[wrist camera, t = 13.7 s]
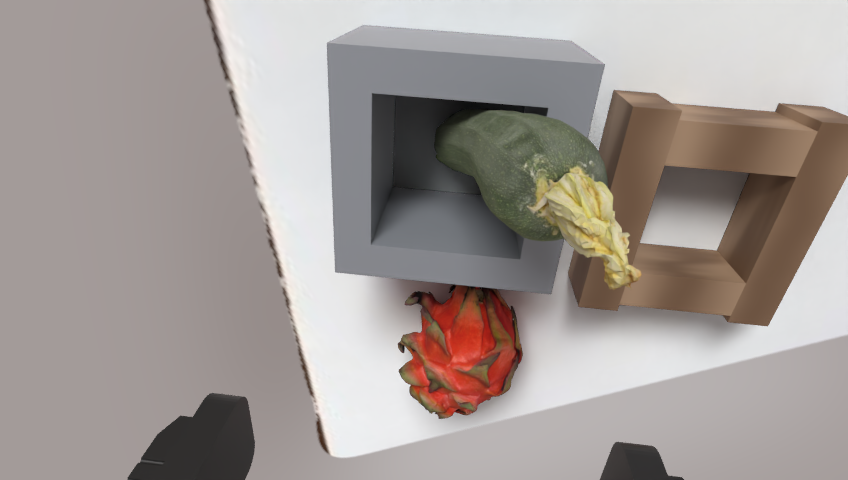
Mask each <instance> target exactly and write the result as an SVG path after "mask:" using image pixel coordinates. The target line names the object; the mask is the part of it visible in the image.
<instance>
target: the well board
mask: <svg viewBox="0 0 848 480" xmlns="http://www.w3.org/2000/svg"><path fill="white" fill-rule="evenodd" d="M598 152H599V154H600V156H601V158H602V160H603V161H604V164H605V169H606V173H607V178H608V189H609V191H610V192H611V193H612V195H613V211H615V220H616V221H617V222H618V224H619V225H620V227H621V228H622V233H629V235H630V236H629V237H627V238H628V240H629V245H628V248H627V249H629V253H628V254H627V258H628V264H629V265H632V266H633V267H635V268H636V269H638V270H640V271H641V274H642V275H641V277H640V279H639V280H638V281H636V282H634V283H631V285H630V287H631V288H632V289H629V288H628V287H626V286H625V285H624V286H621V287H619V288H617V289H614V290H613V289H610V288H609V287H608V284H607V283H606V282H605V281H604V276H605V270H604V269H605V266H604V261H603V260H602V259H601V258H600V257H588V258H587V257H585V256H584V254H580V253H578V252H577V251H576V250H575V249H574V252H573V256H572V260H571V264H570V268H569V272H568V275H569V278H570V281H571V284H572V287H573V291H574V294H575V297H576V300H577V303H578V307H585V308H595V309H605V310H615V311H618V307H619V305H628V306H638V307H648V308H657V309H667V310H677V311H687V312H697V313H706V314H716V315H723V316H724V318H725V319H726V320H727V322H731V323H741V324H751V325H761V326H768V325H769V323H770V321H771V319H772V317H773V315H774V314H775V312H776V310H777V308H778V306H779V304H780V302H781V300H782V298H783V297H784V295H785V293H786V291H787V289H788V287H789V285H790V283H791V281H792V280H793V278H794V276H795V274H796V272H797V270H798V268H799V266H800V264H801V262H802V261H803V259H804V257H805V255H806V253H807V251H808V249H809V247H810V245H811V244H812V242H813V240H814V238H815V236H816V234H817V232H818V230H819V228H820V226H821V225H822V223H823V221H824V219H825V217H826V215H827V213H828V211H829V209H830V208H831V206H832V204H833V202H834V200H835V198H836V196H837V194H838V192H839V190H840V189H841V187H842V185H843V183H844V181H845V179H846V177H847V175H848V116H846V115H843V114H840V113H838V112H835V111H833V110H830V109H827V108H825V107H818V106H805V105H793V104H780V103H779V105H778V107H777V110H776V112H770V111H757V110H745V109H733V108H720V107H708V106H696V105H683V104H672V103H670V102H669V101H667V100H666V99H664V98H663V97H661V96H660V95H658V94H656V93H643V92H631V91H619V90H614V91H613V95H612V99H611V103H610V107H609V111H608V115H607V119H606V123H605V127H604V131H603V135H602V139H601V143H600V147H599V151H598ZM664 166H677V167H688V168H700V169H711V170H723V171H734V172H745V173H750V174H749V176H748V179H747V181H746V183H745V186H744V188H743V190H742V193H741V195H740V198H739V200H738V202H737V205H736V207H735V210H734V212H733V214H732V217H731V219H730V221H729V224H728V226H727V229H726V231H725V233H724V236H723V238H722V240H721V243H720V245H719V248H718V250H717V251H715V250H705V249H694V248H684V247H673V246H663V245H652V244H642V243H640V240H641V237H642V233H643V230H644V227H645V224H646V221H647V218H648V215H649V212H650V209H651V206H652V203H653V199H654V196H655V193H656V190H657V187H658V184H659V181H660V178H661V175H662V172H663V169H664Z"/></svg>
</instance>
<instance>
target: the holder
mask: <svg viewBox="0 0 848 480" xmlns="http://www.w3.org/2000/svg"><path fill="white" fill-rule="evenodd" d="M327 61H328V88H329V116H330V143H331V170H332V198H333V225H334V252H335V272H337V273H347V274H357V275H367V276H377V277H387V278H396V279H406V280H416V281H426V282H436V283H446V284H455V285H465V286H475V287H485V288H495V289H504V290H514V291H524V292H534V293H544V294H551V292H552V288H553V284H554V280H555V275H556V271H557V267H558V262H559V258H560V254H561V250H562V245H563V241H564V239H560V240H556V241H535V240H530V239H527V238H524V237H522V236H521V235H519V234H518V233H516V232H515V231H513V230H512V229H511V228H509V227H508V226H507V225H506V224H504V223H503V222H502V221H501V220H500V219H498V218H497V217H496V216H495V215H494V214H493V213H492V212H491V211H490V209H489V208H488V206H487V205H486V203H485V201H484V199H483V197H482V195H474V194H464V193H453V192H442V191H431V190H420V189H409V188H399V187H393V160H394V127H395V95H400V96H412V97H424V98H436V99H448V100H460V101H472V102H484V103H496V104H508V105H520V106H525V110H524V113H530V114H538V115H542V116H545V117H550V118H554V119H558V120H561V121H563V122H564V123H566V124H568V125H570V126H571V127H573V128H575V129H576V130H577V131H579V132H580V133H581V134H583V135H584V136H585V137H587V138H588V134H589V130H590V126H591V121H592V117H593V113H594V109H595V104H596V100H597V96H598V91H599V87H600V83H601V79H602V74H603V70H604V66H605V64H603V63H602V62H601V61H599V60H598V59H596V58H595V57H594V56H592V55H591V54H589V53H588V52H586V51H585V50H584V49H582V48H581V47H579V46H578V45H577V44H575V43H574V42H572V41H565V40H552V39H539V38H526V37H513V36H499V35H486V34H473V33H460V32H447V31H433V30H420V29H407V28H394V27H381V26H367V25H363V26H361V27H359V28H357V29H355V30H352V31H350V32H348V33H346V34H344V35H342V36H340V37H338V38H336V39H334V40H332V41H330V42H328V43H327Z"/></svg>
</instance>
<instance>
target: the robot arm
mask: <svg viewBox="0 0 848 480" xmlns="http://www.w3.org/2000/svg"><path fill="white" fill-rule="evenodd" d="M254 448H255V441H254V435H253V429H252V423H251V417H250V411H249V405H248V401H247V399H246V398H245V397H241V396H232V395H224V394H215V393H211V394H209V395H208V396H207V397H206V398H205V399H204V400H203V402H202V403H201V405H200V407H199V408H198V410H197V411H196V413H195V415H194V416H193V417H187V416H180V417H178V418H177V419H176V420H175V421H174V422H172V423H171V424H170V425H169V426H167V427H166V428H165V429H164V430H162V431H161V432H160V433H159V434H158V435H157V436H156V438H155V439H154V440H153V442H152V443H151V445H150V446H149V448H148V449H147V450H146V452H145V453H144V455H143V456H142V458H141V462H140V463H138V464H137V465H136V467H135V468H134V469H133V471H132V472H131V474H130V475H129V477H128V480H245V478H246V476H247V474H248V472H249V469H250V466H251V463H252V459H253V455H254ZM600 480H684V479H683V478H682V477H673V476H668V475H667V473H666V470H665V467H664V464H663V462H662V459H661V457H660V454H659V452H658V451H657V449H656V448H655V447H653V446H648V445H640V444H631V443H623V442H616V443H615V444H614V445H613V447H612V450H611V452H610V455H609V457H608V460H607V462H606V465H605V468H604V470H603V473H602V476H601V478H600Z"/></svg>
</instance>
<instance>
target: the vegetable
mask: <svg viewBox="0 0 848 480" xmlns="http://www.w3.org/2000/svg"><path fill="white" fill-rule="evenodd" d="M434 146H435V150H436V153H437V155H436V158H437V159H438V160H439V161H440V162H442V163H444V164H445V165H447V166H448V167H449V168H451V169H452V170H455V171H459V172H462V173H464V174H467V175H470V176H473V177H474V178H475V180H476V182H477V184H478V186H479V188H480V191H481V194H482V197H483V199H484V201H485V203H486V205H487V206H488V208H489V209H490V211H491V212H492V213H493V214H494V215H495V216H496V217H497V218H498V219H500V220H501V221H502V222H503V223H504V224H506V225H507V226H508V227H509V228H511V229H512V230H513V231H515V232H516V233H518V234H519V235H521V236H522V237H524V238H527V239H530V240H535V241H556V240H560V239H564V238H565V240H566V241H567V242H568V243H569V245H570V246H572V247H573V248H574V249H575V250H576V251H577V252H578V253H580V254H584V256H585V257H587V258H588V257H600V258H601V259H602V260H603V261H604V266H605V269H604V270H605V276H604V281H605V282H606V283H607V284H608V287H609V288H610V289H613V290H614V289H617V288H619V287H621V286H624V285H625V286H626V287H628V288H629V289H632V288H631V287H630V285H631V283H634V282H636V281H638V280H639V279H640V277H641V275H642V274H641V271H640V270H638V269H636V268H635V267H633V266H632V265H629V264H628V258H627V254H628V253H629V249H627V248H628V245H629V240H628V238H627V237H629V236H630V235H629V233H622V228H621V227H620V225H619V224H618V222H617V221H616V220H615V211H613V195H612V193H611V192H610V191H609V189H608V178H607V173H606V169H605V164H604V161H603V160H602V158H601V156H600V154H599V152H598V150H597V149H596V147H595V146H594V145H593V143H592V142H591V141H590V140H589V139H588V138H587V137H585V136H584V135H583V134H581V133H580V132H579V131H577V130H576V129H575V128H573V127H571V126H570V125H568V124H566V123H564V122H563V121H561V120H558V119H554V118H550V117H545V116H542V115H538V114H530V113H521V112H516V111H507V110H492V109H466V110H461V111H459V112H457V113H455V114H453V115H452V116H450V117H449V118H447V119H446V120H445V121H444V122H443V123H442V124H441V125H440V126H439V127H438V128H437V129H436V132H435V144H434Z"/></svg>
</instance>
